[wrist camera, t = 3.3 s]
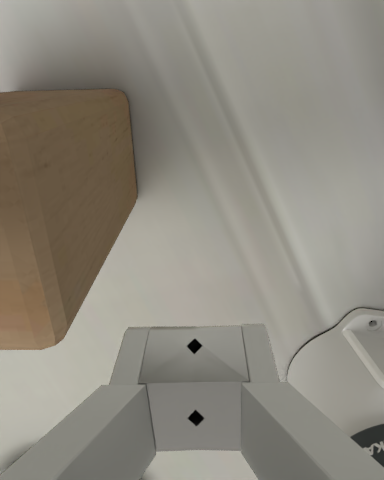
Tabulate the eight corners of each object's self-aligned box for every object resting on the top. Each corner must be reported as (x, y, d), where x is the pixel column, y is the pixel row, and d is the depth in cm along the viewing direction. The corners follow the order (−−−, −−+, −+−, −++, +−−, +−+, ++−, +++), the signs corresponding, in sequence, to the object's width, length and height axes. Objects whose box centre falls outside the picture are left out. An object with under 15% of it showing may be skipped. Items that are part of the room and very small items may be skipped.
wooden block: (9, 91, 29) (-308, 117, 11) (129, 87, 29) (3, 109, 11) (35, 205, 33) (-164, 359, 15) (140, 203, 33) (63, 360, 15)
